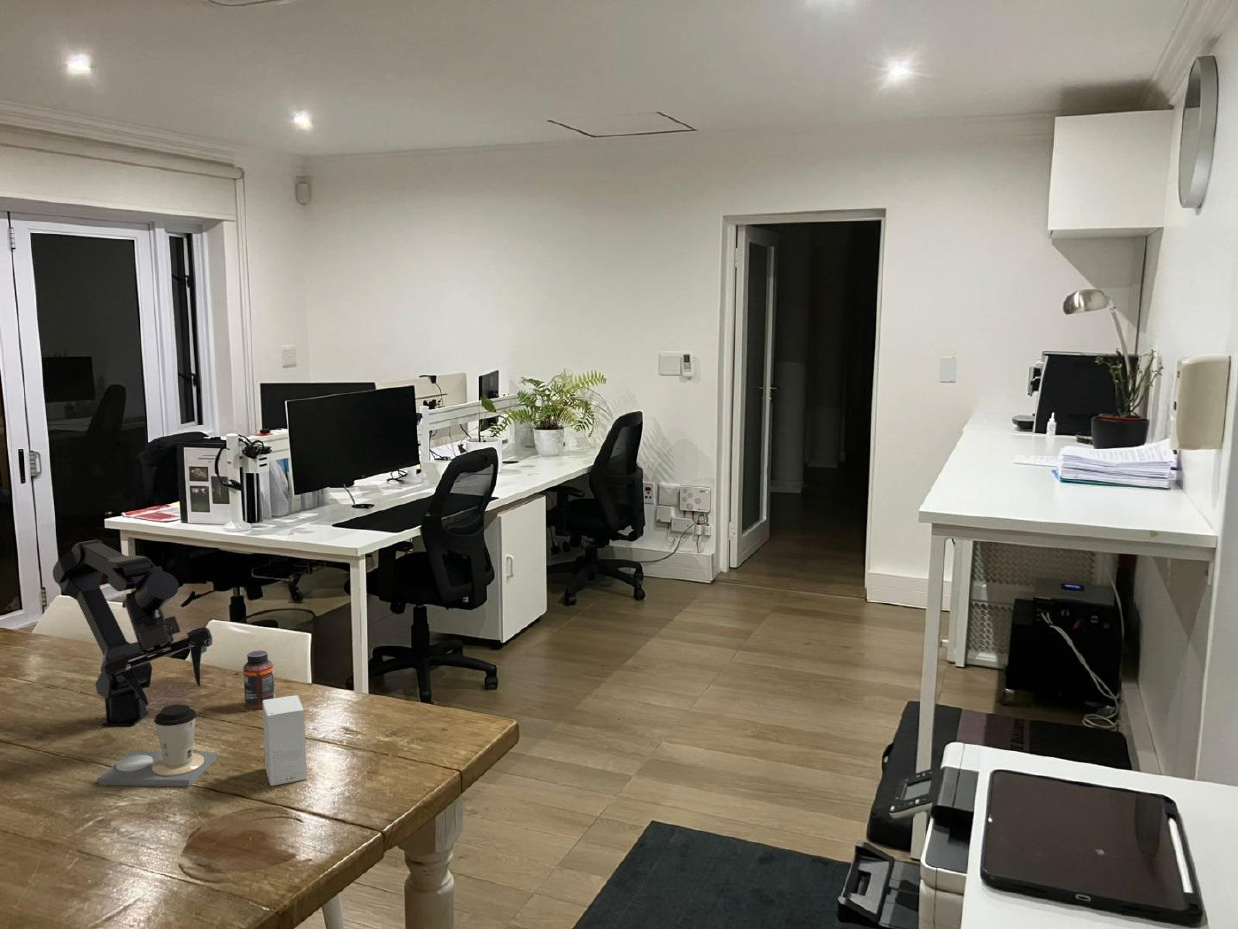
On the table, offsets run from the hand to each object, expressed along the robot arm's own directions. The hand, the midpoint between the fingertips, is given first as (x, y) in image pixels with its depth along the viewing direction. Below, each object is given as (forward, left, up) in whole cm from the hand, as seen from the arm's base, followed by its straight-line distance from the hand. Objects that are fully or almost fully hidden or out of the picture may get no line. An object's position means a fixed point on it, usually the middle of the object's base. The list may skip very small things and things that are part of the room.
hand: (173, 695), depth 182 cm
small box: (+24, -9, -11) cm, 28 cm away
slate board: (+1, -9, -11) cm, 14 cm away
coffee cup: (+5, -9, -9) cm, 14 cm away
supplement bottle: (+7, +22, -11) cm, 26 cm away
